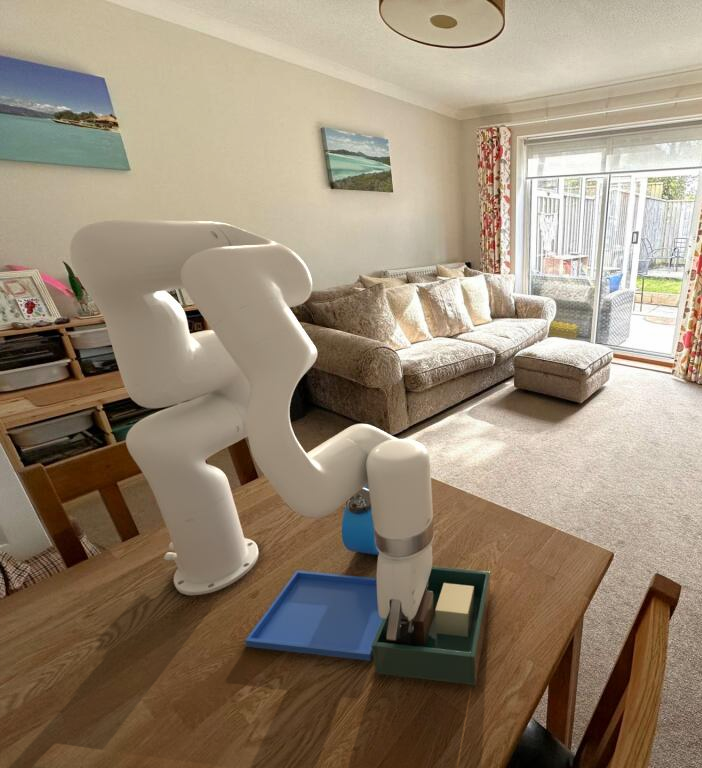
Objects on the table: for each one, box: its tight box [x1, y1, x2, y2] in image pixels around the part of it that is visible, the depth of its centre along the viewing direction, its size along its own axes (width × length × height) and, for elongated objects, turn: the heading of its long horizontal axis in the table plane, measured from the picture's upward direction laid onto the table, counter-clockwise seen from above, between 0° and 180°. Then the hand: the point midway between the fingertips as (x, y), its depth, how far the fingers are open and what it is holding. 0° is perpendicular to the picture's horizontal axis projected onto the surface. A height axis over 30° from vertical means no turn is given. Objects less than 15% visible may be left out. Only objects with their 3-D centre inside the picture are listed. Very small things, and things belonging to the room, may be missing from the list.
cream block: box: [435, 583, 474, 637], centre depth 63 cm, size 5×5×5 cm
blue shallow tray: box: [244, 570, 383, 662], centre depth 65 cm, size 19×13×2 cm
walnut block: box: [388, 591, 434, 646], centre depth 59 cm, size 5×5×5 cm
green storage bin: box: [372, 565, 491, 688], centre depth 62 cm, size 14×14×6 cm
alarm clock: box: [341, 485, 379, 556], centre depth 77 cm, size 13×6×15 cm, turn 172°
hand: (413, 625), depth 60 cm, fingers closed on walnut block, 5 cm apart
